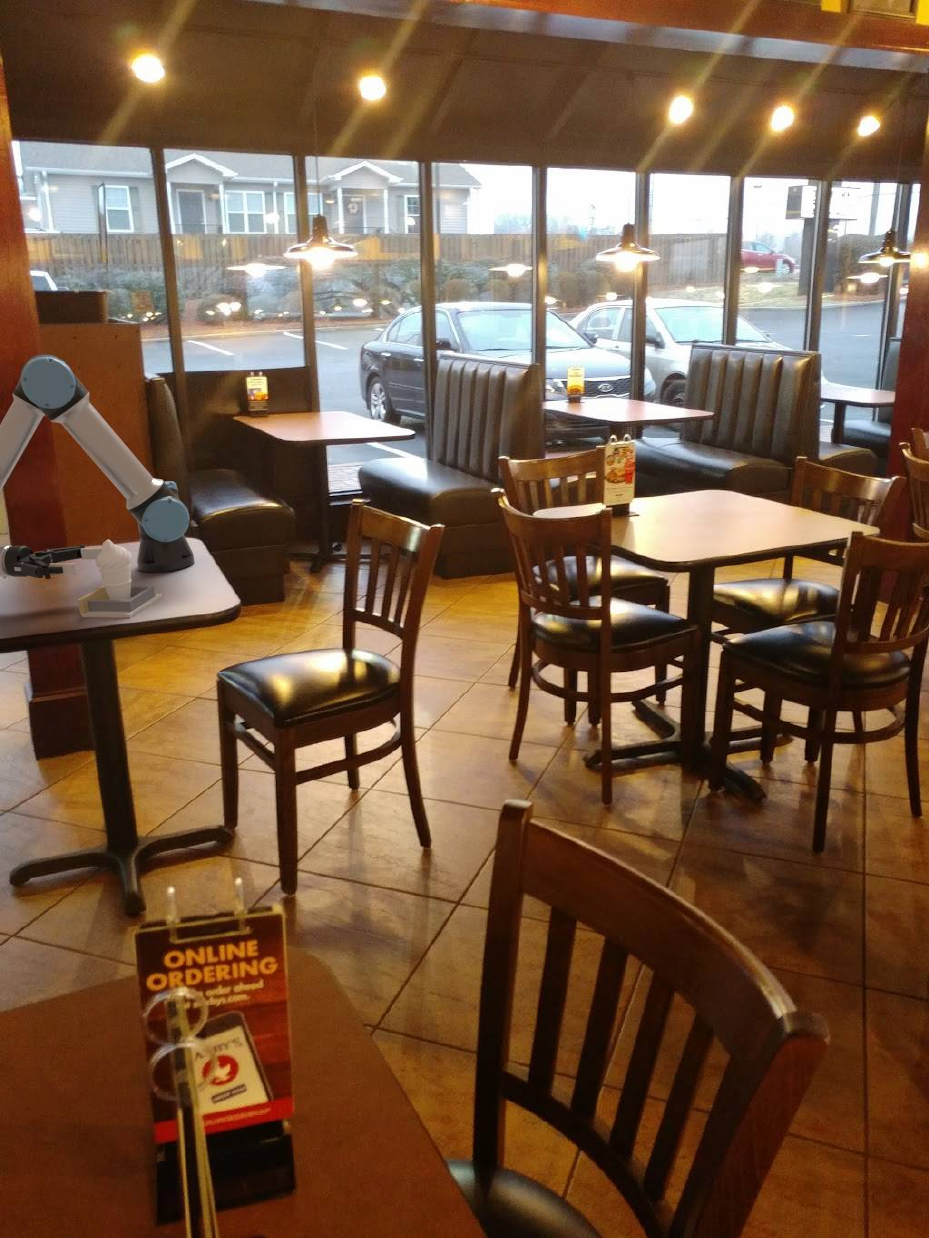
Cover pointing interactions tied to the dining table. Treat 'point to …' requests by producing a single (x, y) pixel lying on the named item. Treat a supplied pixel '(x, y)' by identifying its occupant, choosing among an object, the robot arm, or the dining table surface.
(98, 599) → the grey shallow tray
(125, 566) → the soft serve ice cream cone
